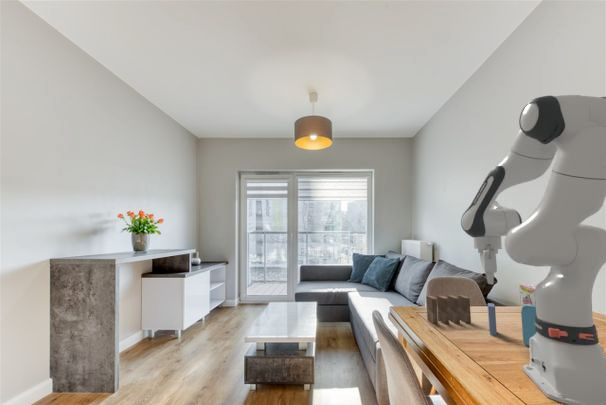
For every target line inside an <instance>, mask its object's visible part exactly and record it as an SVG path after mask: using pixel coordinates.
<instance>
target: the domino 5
mask: <svg viewBox="0 0 606 405" xmlns="http://www.w3.org/2000/svg"><path fill="white" fill-rule="evenodd" d="M496 313H497V312H496V305H495V304H494V303H493V302H491V303H489V302H488V303H487V314H488V316H487V317H488V329H489V330H488V331H489V334H490V336H495V337H497V336H498V333H497V316H496Z"/></svg>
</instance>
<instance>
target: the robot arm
mask: <svg viewBox="0 0 606 405" xmlns="http://www.w3.org/2000/svg"><path fill="white" fill-rule="evenodd" d="M518 120H519V121H518V122H519V127H520V128H519V130H518V132H517V134H516V136H515V137H514V140H513V142H512V144H511V145H510V149H509V151H508V153H507V154H506V156H505V157H504V158H503V159H502V161H501V162H500V163H499V164H497V165H496V166H495V167H493V168H492V169H491V170H490V171H489V172H488V174H487V175H486V177H485V179H484V180H483V183H482V184H481V186H480V188H479V189H478V191H477V193H476V194H475V196H474V198H473V200H472V202H471V204H470V205H469V206H468V207H467V209H466V210H465V211H464V212H463V214H462V215H461V220H460V225H461V228H462V230H463V231H464V232H465V233H466V234H467V235H468V236H469V237H470V238H473V248H474V249H477V253H478V254H479V257H480V258H479V259H480V262H481V266H482V268H483V270H484V273H485V279H486V281H487V284H488V285H494V284H495V283H494V277H495V273H497V271H498V268H497V267H498V265H497V264H498V263H497V254H499V250H502V249H503V243H502V237H505V238H504V249H505V252H506V253H507V255H508V257H509V258H510V259H511V260H512V262H513V261H514V262H515V263H517V264H521V265H525V266H526V265H527V266H532V267H550V269H549V272H548V274H547V275H546V277H545V278H544V279H543V280H541V281H540V282H539V283H537V284H536V285H535V286H536V288H535V301H536V314H537V316H535V330H536V331H537V332H536V334H535V335H534V336H533V337H531V338H530V339H529V343H530V347H529V364H528V363H527V364H524V365H522V370H523V372H524V373H525V374H526V375H527V376H528V378H529V379H531V381H532V382H534V384H535V386H537V387H538V388H539V389H540V391H542V393H543V394H544V395H545V396H546V397H547V398H549V399H551V400H554V401H556V402H558V403H562V404H565V405H606V355H605V350H604V347H603V346H601V345H600V344H599V341H600V340H599V337H598V336H599V333H598V330H597V326H596V324H594V317H593V299H592V295H593V289H594V284H595V282H596V278H597V276H598V274H599V272H600V271H601V269H602V267H603V266H604V265H605V264H606V229H604V228H602V227H599V226H593V225H589V224H583V223H582V222H584V221H585V220H586V219H588V218H589V217H591V216H594V215H595V214H597V213H598V212H599V211H600V210H601V209H602V207H603V206H604V203H605V200H606V96H600V97H599V96H589V95H579V94H567V95H565V94H564V95H554V96H553V95H543V96H539V97H535V98H532V99H531V100H529V101H528V102H527V103H526V104H525V105H524V107H523V109H522V110H521V112H520V115H519V118H518ZM554 160H555V161H554ZM553 161H554V163H553ZM552 163H553V167H552V170H551V173H550V177H549V179H548V181H547V185H546V188H545V190H544V194H543V196H542V198H541V200H540V202H539V203H538V205H537V206H536V207H535V209H534V210H533V211H532V213H531V214H530V215H529V216H528V217H527V218H526V219H525V220H524V221H522V220H523V219H522V216H521V215H520V213H519V212H518V211H517V210H516V209H513V208H509V207H505V206H503V205H501V204H499V202H498V201H497V198H498V196H499V195H500V194H501V193H502V192H504V191H505V190H507V189H509V188H512V187H514V186H517V185H520V184H524V183H529V182H531V181H535V180H536V179H539V178H541V177H542V176H544V175H545V173H546V172H547V171H548V169H550V167H551V165H552Z"/></svg>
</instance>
